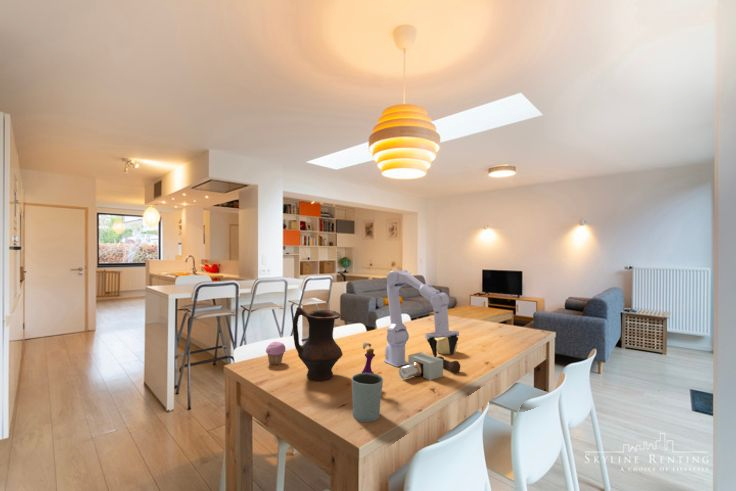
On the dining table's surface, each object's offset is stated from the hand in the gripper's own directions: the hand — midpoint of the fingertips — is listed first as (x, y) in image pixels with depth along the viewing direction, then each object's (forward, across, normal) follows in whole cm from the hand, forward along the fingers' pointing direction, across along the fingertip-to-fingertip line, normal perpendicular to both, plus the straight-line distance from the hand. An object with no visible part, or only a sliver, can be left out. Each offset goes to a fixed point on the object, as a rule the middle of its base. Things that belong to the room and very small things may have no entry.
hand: (443, 354), depth 140 cm
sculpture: (+8, +18, +34) cm, 40 cm away
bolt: (+10, +7, +13) cm, 18 cm away
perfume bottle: (+9, -34, -3) cm, 35 cm away
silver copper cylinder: (+9, -11, +6) cm, 16 cm away
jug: (+7, -51, +15) cm, 54 cm away
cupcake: (+5, -69, +35) cm, 78 cm away
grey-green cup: (+10, -39, -22) cm, 46 cm away
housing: (+9, -5, +8) cm, 14 cm away
